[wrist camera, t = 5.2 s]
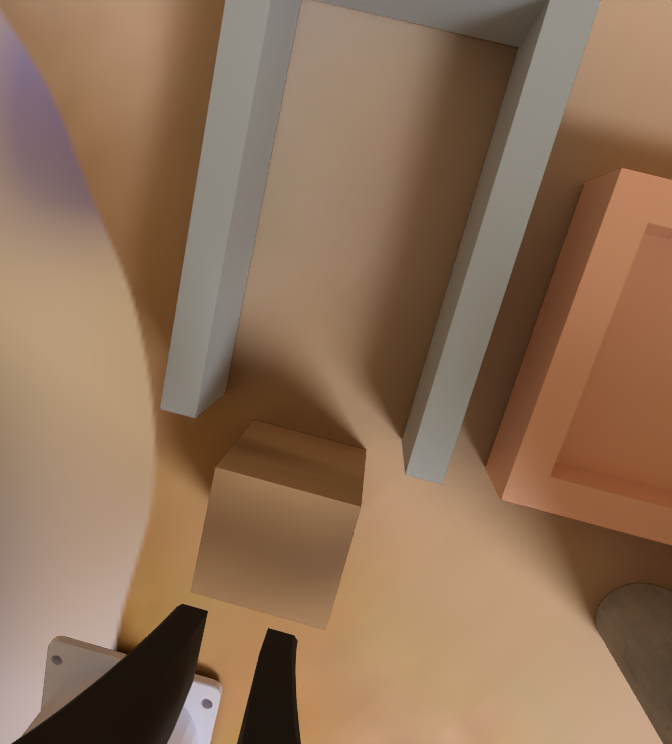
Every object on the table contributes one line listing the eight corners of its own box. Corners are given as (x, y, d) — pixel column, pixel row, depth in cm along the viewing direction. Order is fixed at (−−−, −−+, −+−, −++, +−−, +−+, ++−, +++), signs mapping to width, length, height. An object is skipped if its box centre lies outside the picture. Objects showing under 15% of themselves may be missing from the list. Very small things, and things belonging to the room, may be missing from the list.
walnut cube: (338, 548, 20) (325, 630, 15) (233, 518, 20) (190, 592, 15) (366, 449, 18) (361, 506, 14) (254, 418, 19) (215, 467, 14)
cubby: (432, 448, 18) (442, 484, 15) (194, 385, 18) (160, 408, 16) (570, 13, 15) (616, -50, 12) (273, -55, 15) (246, -132, 12)
